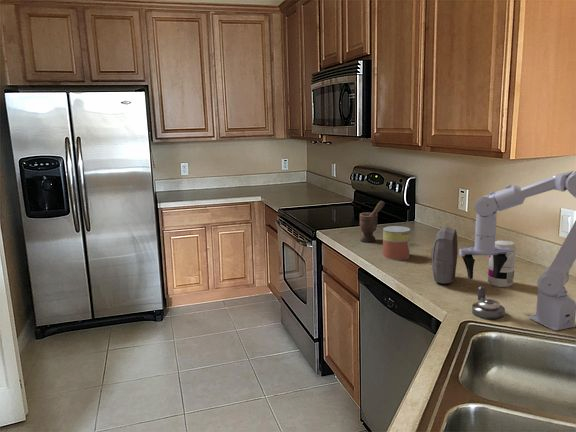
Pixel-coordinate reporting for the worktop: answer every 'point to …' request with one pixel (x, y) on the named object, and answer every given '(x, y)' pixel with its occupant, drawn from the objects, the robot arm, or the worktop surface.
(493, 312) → the stand
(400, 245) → the canned food
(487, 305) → the capstan dial
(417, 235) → the worktop surface
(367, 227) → the mortar and pestle
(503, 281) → the supplement can
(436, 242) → the grey rounded bag
